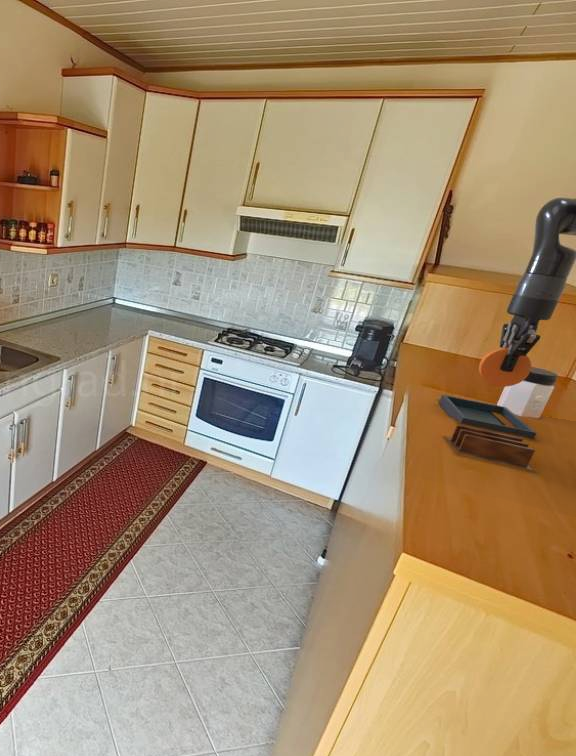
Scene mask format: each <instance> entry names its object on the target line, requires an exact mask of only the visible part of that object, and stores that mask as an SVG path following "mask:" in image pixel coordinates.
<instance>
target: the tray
mask: <svg viewBox="0 0 576 756" xmlns="http://www.w3.org/2000/svg"><path fill="white" fill-rule="evenodd" d="M438 405H439V406H440V407H441V408H442V410H443V411H444V412H445V413H446V414H447V416H448V417H449V418H450V419H454V420H457V421H458V423H459V424H460V425H465V426H466V425H467V426H469V427H474V428H475V427H476V428H479V429H484V430H488V431H489V430H490V431H493V432H498V433H502V434H507V435H512V436H517V437H518V436H519V437H521V438H528V439H532V440H535V438H536V436H537V435H538V434H537V432H536V431H535V430H533V429H532V427H530V426H529V425H528V424H526V423H525V422H524V421H523V420H522V419H521V418H520V417H518V415H516V414H513V413H512V412H511V411H510V410H509V409H508V408H506V407H503V406H498V405H497V404H492V403H489V402H482V401H478V400H473V399H466V398H462V397H456V396H452V395H446V394H441V395H440V399H439V401H438ZM494 413H495V414H494ZM496 414H500V415H501V416H502V417H504V418H505V420H507V421H508V422H509V423H510V424H511V425H512V426H510V425H506V423H504V422H503V421H502V420H501V419H500V418H499V417H498V416H497V415H496Z"/></svg>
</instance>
